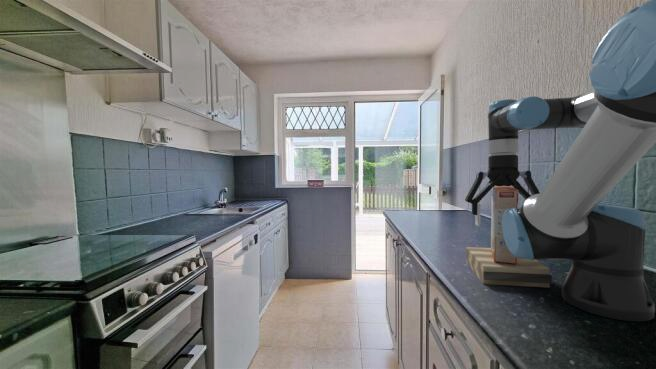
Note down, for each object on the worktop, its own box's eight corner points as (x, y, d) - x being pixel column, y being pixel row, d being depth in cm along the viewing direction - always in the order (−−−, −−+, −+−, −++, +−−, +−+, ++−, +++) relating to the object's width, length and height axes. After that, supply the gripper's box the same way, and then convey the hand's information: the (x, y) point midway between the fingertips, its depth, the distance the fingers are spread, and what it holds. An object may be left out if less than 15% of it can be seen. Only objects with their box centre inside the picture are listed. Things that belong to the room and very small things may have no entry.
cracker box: (518, 265, 79) (519, 189, 77) (493, 262, 81) (493, 188, 80) (512, 251, 91) (512, 185, 90) (490, 249, 94) (490, 185, 93)
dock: (551, 289, 75) (552, 270, 74) (484, 285, 78) (484, 267, 78) (518, 263, 94) (519, 248, 94) (466, 261, 98) (466, 247, 97)
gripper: (544, 153, 86) (544, 224, 87) (454, 156, 91) (455, 223, 92) (559, 152, 78) (557, 229, 79) (460, 155, 84) (460, 227, 85)
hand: (502, 226), depth 86 cm, fingers open, 13 cm apart
